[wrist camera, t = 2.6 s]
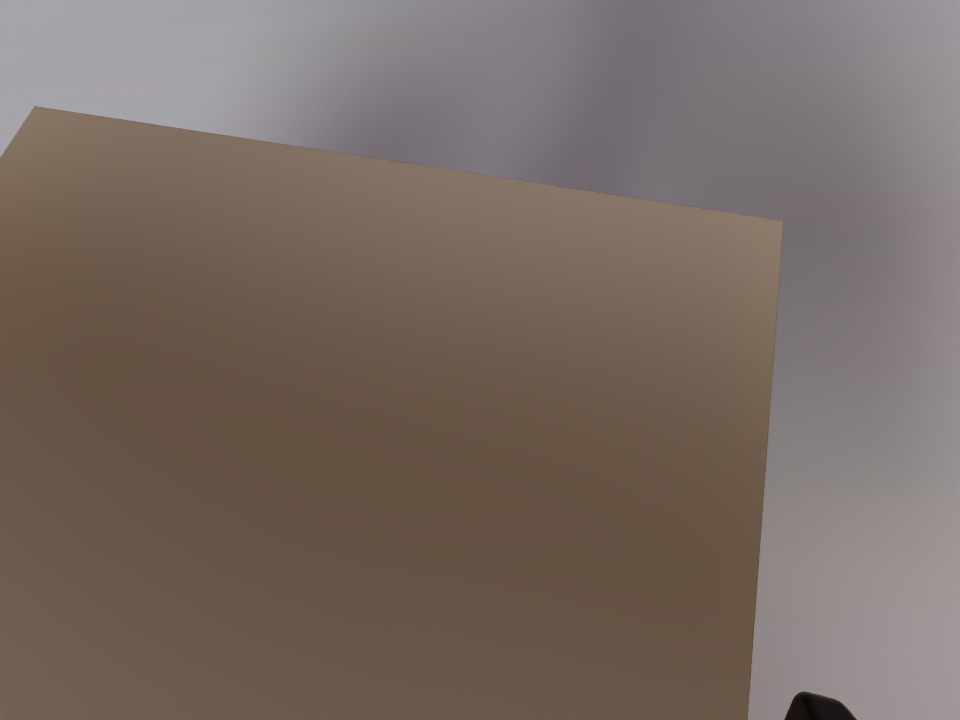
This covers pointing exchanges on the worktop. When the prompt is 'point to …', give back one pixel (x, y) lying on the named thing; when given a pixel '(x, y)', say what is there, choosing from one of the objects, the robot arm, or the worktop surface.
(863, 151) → the worktop surface
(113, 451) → the walnut block
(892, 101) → the worktop surface
